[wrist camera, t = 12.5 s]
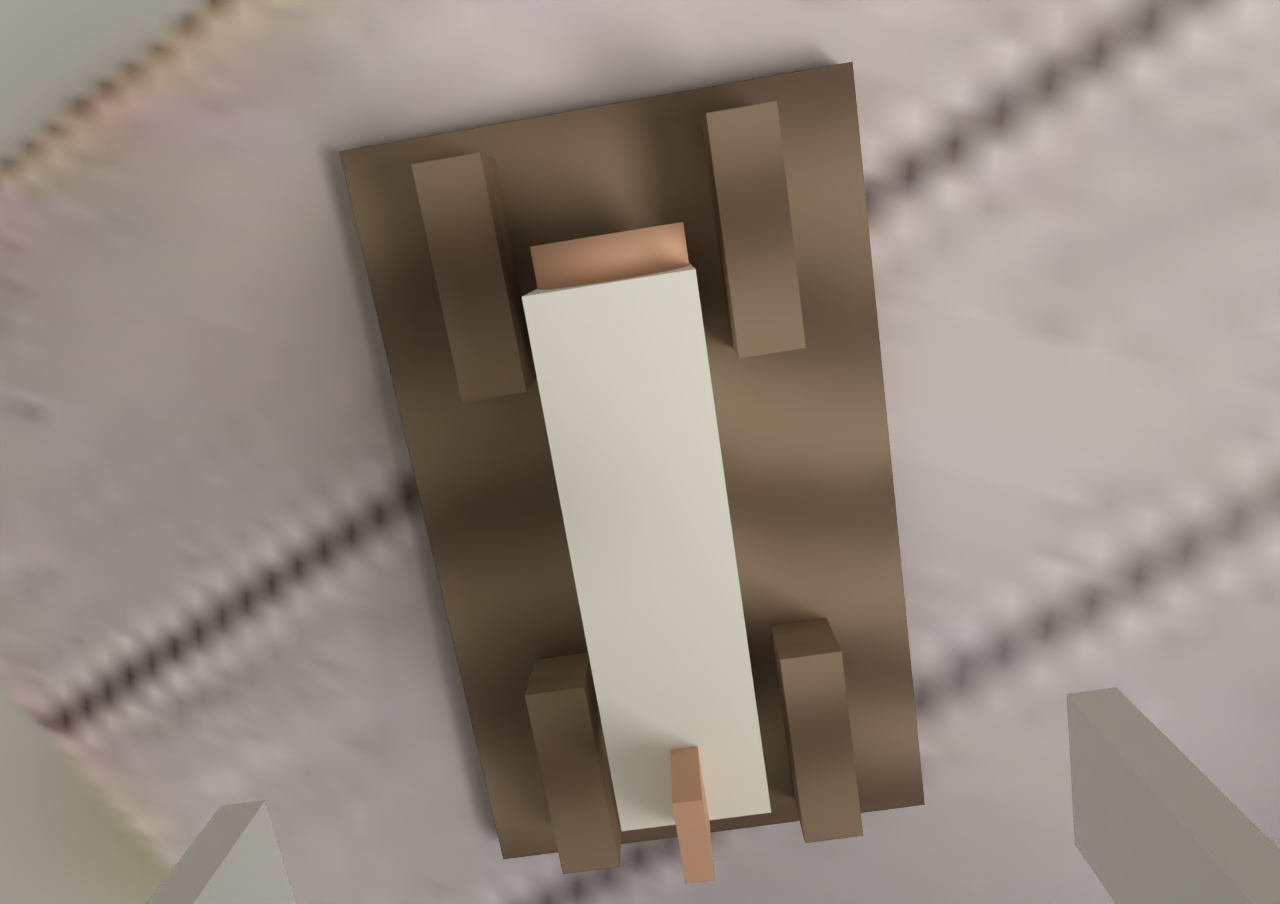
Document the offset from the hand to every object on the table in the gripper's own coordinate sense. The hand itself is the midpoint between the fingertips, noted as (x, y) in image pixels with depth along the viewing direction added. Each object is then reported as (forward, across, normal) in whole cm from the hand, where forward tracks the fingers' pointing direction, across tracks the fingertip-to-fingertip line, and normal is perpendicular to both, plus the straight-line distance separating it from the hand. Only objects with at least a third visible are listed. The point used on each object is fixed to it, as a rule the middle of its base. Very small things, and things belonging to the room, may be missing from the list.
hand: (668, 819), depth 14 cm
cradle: (+18, 0, 0) cm, 18 cm away
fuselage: (+16, 0, 0) cm, 17 cm away
